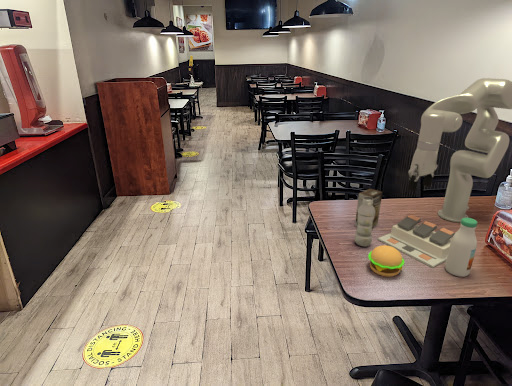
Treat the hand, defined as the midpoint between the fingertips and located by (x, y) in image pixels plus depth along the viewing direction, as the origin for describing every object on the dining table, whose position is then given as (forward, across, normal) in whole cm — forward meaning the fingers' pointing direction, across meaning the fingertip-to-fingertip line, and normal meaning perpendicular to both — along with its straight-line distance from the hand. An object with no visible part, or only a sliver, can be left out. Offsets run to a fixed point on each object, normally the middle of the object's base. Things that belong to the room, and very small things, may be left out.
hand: (419, 187), depth 138 cm
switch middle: (+15, +2, +7) cm, 16 cm away
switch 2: (+15, +2, +14) cm, 20 cm away
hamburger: (+22, +29, +10) cm, 38 cm away
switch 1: (+15, +2, 0) cm, 15 cm away
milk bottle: (+22, +9, +25) cm, 34 cm away
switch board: (+22, +6, +7) cm, 23 cm away
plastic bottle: (+22, +22, -6) cm, 32 cm away
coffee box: (+22, +8, -16) cm, 28 cm away
